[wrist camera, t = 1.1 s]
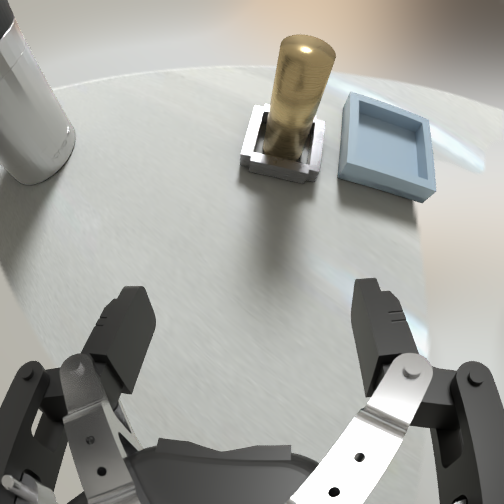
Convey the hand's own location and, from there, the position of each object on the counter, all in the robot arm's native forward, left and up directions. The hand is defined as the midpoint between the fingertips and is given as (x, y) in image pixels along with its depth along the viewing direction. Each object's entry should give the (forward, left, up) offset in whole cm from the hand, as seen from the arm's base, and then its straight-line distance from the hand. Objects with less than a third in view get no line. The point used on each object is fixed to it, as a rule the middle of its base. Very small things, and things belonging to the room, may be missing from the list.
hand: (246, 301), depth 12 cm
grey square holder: (+1, +18, -15) cm, 24 cm away
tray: (+12, +21, -15) cm, 28 cm away
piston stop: (+1, +18, -15) cm, 24 cm away
